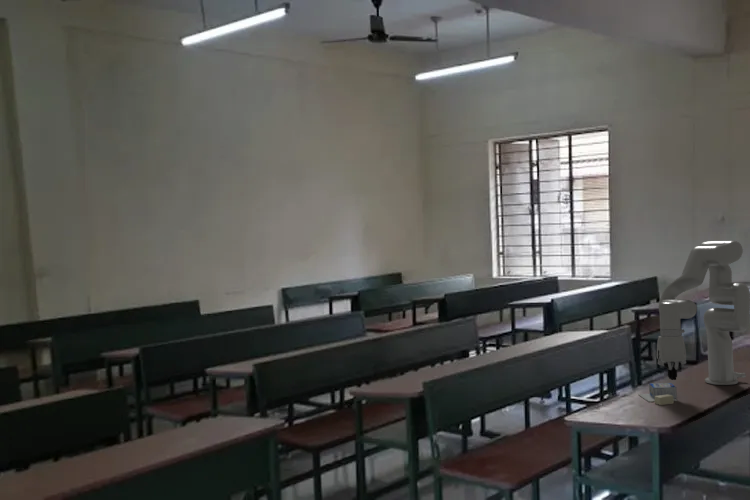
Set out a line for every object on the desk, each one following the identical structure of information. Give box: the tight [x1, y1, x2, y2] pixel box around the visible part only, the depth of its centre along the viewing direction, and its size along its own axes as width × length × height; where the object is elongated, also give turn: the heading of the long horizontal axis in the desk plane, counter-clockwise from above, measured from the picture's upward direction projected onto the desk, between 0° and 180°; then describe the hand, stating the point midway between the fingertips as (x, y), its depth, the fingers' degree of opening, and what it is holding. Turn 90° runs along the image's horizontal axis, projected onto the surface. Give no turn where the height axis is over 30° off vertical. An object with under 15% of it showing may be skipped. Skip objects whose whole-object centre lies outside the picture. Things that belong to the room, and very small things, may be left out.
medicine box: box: [648, 382, 678, 399], centre depth 281 cm, size 8×4×9 cm
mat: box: [638, 393, 678, 403], centre depth 280 cm, size 11×12×1 cm
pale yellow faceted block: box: [654, 394, 675, 406], centre depth 272 cm, size 6×3×3 cm, turn 105°
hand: (672, 379), depth 280 cm, fingers closed
